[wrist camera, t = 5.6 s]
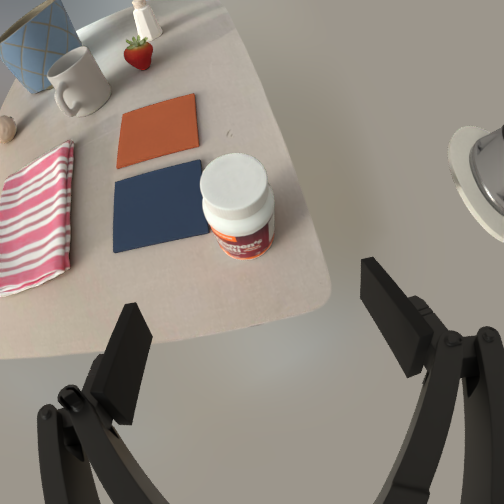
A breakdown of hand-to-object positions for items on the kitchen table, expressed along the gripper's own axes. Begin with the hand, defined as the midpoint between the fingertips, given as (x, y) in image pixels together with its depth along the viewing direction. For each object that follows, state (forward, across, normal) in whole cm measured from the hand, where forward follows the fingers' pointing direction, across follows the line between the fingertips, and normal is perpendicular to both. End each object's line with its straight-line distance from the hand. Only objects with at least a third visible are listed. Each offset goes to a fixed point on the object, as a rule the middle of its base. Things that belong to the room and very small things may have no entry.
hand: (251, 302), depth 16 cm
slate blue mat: (+20, -10, +1) cm, 23 cm away
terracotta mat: (+30, -10, +10) cm, 33 cm away
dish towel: (+24, -32, +4) cm, 40 cm away
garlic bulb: (+41, -48, +22) cm, 67 cm away
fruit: (+42, -13, +23) cm, 50 cm away
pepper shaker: (+53, -13, +34) cm, 64 cm away
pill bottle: (+16, 0, -3) cm, 17 cm away
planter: (+55, -40, +36) cm, 77 cm away
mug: (+38, -24, +19) cm, 49 cm away
